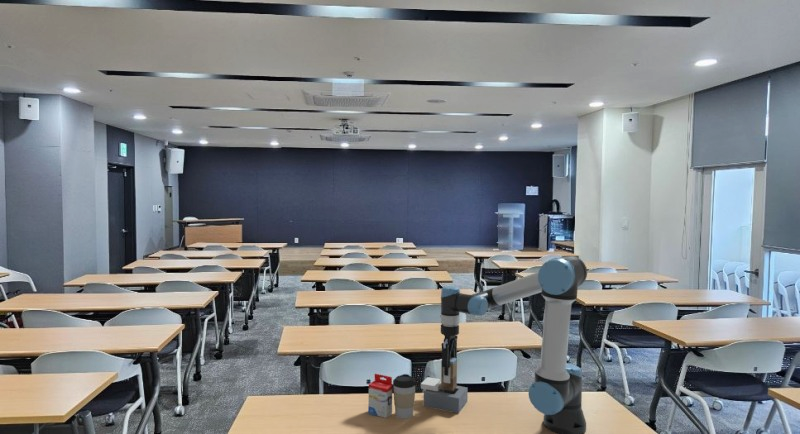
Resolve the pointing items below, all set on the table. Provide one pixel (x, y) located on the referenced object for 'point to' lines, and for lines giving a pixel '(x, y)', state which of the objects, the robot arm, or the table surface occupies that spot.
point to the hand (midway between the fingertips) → (449, 380)
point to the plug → (453, 376)
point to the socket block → (446, 399)
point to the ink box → (380, 396)
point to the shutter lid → (431, 384)
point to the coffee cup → (404, 396)
